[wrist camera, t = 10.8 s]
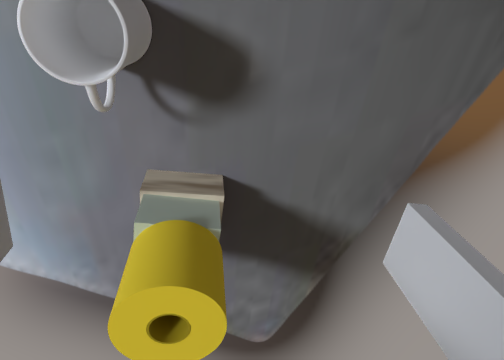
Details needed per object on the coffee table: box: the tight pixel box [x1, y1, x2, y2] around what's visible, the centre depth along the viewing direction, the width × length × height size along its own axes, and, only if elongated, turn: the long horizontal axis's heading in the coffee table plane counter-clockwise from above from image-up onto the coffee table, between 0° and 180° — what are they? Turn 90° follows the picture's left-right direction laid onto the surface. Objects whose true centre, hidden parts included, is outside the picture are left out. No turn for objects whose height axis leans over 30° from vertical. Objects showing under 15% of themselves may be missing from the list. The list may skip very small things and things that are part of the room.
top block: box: [134, 194, 221, 241], centre depth 40 cm, size 9×9×6 cm
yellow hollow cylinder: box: [108, 220, 227, 360], centre depth 33 cm, size 10×10×9 cm
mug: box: [17, 0, 152, 112], centre depth 32 cm, size 12×8×12 cm
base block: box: [140, 169, 224, 221], centre depth 46 cm, size 10×10×6 cm
